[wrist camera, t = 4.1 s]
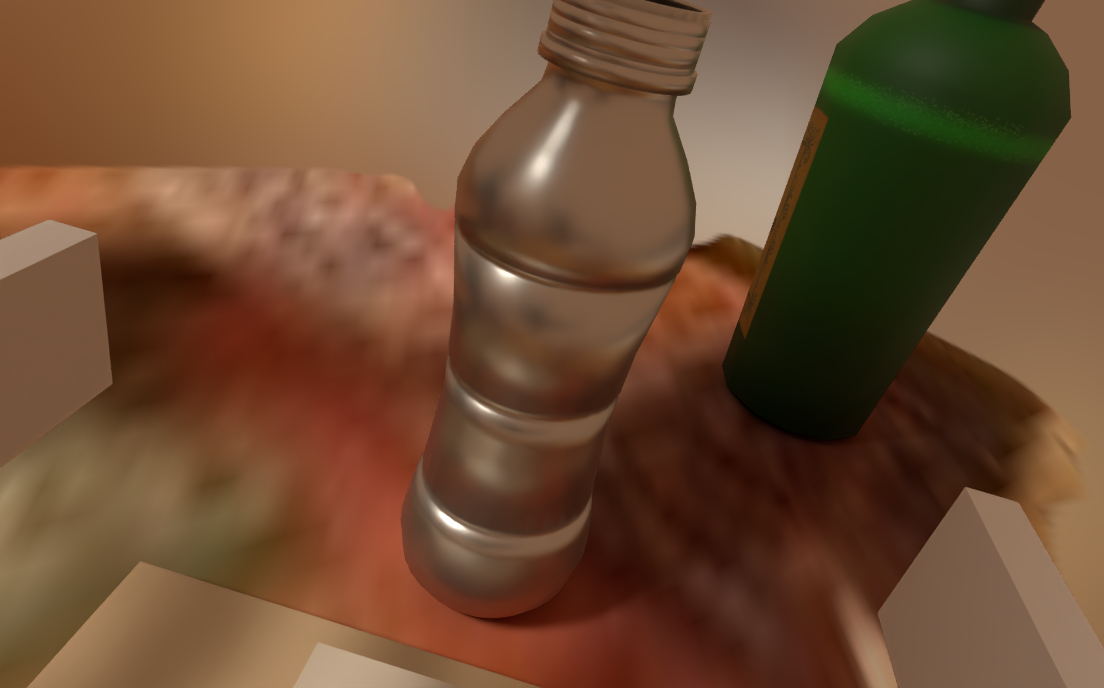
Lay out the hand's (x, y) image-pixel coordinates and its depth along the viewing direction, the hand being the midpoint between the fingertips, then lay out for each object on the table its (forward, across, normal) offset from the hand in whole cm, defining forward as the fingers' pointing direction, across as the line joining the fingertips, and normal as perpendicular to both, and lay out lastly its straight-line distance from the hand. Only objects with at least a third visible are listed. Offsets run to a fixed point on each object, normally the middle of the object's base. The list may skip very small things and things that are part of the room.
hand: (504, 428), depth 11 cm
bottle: (+29, +14, -14) cm, 35 cm away
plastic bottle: (+10, 0, -15) cm, 18 cm away
